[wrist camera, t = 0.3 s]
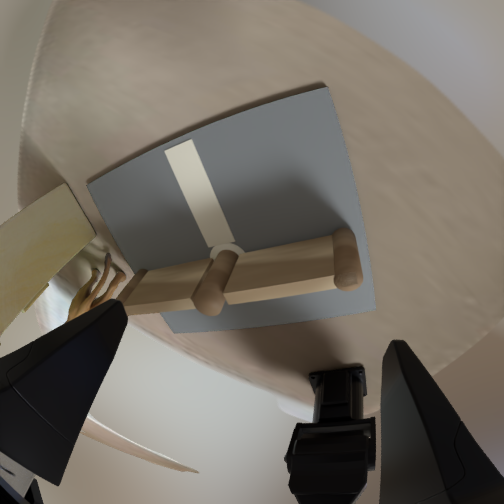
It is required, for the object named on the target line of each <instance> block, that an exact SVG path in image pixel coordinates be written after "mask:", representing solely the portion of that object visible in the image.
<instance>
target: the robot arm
mask: <svg viewBox="0 0 504 504" xmlns="http://www.w3.org/2000/svg"><path fill="white" fill-rule="evenodd" d="M127 322H128V317H127V314H126V311H125V308H124V306H123V303H122V302H121V301H120V300H117V299H109V300H107V301H105V302H103V303H102V304H100V305H98V306H96V307H94V308H92V309H90V310H89V311H87V312H85V313H83V314H81V315H79V316H77V317H76V318H74V319H72V320H70V321H68V322H67V323H65V324H63V325H61V326H59V327H57V328H56V329H54V330H52V331H50V332H48V333H47V334H45V335H43V336H41V337H40V338H38V339H36V340H35V341H32V342H31V343H29V344H27V345H25V346H24V347H22V348H20V349H18V350H16V351H14V352H12V353H10V354H8V355H6V356H4V357H2V358H0V504H43V500H42V497H41V494H40V490H39V486H38V482H37V480H36V479H35V478H34V477H35V475H38V476H39V477H42V478H43V479H45V480H47V481H48V482H50V483H52V484H54V485H56V486H59V485H60V483H61V480H62V477H63V474H64V472H65V469H66V466H67V464H68V461H69V458H70V456H71V453H72V451H73V448H74V445H75V443H76V440H77V438H78V436H79V433H80V431H81V428H82V426H83V424H84V421H85V419H86V417H87V414H88V412H89V410H90V408H91V405H92V403H93V401H94V399H95V397H96V394H97V392H98V390H99V388H100V386H101V384H102V381H103V379H104V377H105V375H106V373H107V371H108V369H109V367H110V365H111V363H112V361H113V359H114V356H115V354H116V351H117V349H118V346H119V343H120V341H121V338H122V336H123V333H124V331H125V328H126V326H127ZM309 380H310V383H311V385H312V388H313V391H314V393H315V404H314V414H313V423H297V424H296V427H295V429H294V431H293V434H292V438H291V441H290V444H289V448H288V451H287V453H286V455H285V457H284V461H285V462H286V463H287V469H288V472H289V474H290V480H289V484H288V486H289V488H290V491H291V493H292V494H294V495H295V497H296V499H297V501H298V503H299V504H355V502H356V501H357V500H358V499H359V497H360V496H361V494H362V493H363V492H364V490H365V489H366V486H367V473H368V471H374V470H375V460H376V424H375V417H371V418H367V419H363V397H364V396H366V395H367V387H366V377H365V368H364V367H356V368H349V369H341V370H333V371H324V372H314V373H310V374H309ZM369 437H370V438H369ZM379 504H504V477H503V476H502V475H501V474H500V472H499V471H498V470H497V468H496V467H495V466H494V464H493V463H492V462H491V461H490V459H489V458H488V457H487V456H486V454H485V453H484V452H483V450H482V449H481V448H480V446H479V445H478V444H477V442H476V441H475V439H474V438H473V436H472V435H471V433H470V432H469V431H468V429H467V428H466V426H465V424H464V423H463V421H461V419H460V417H459V416H458V414H457V412H456V411H455V410H454V408H453V407H452V405H451V404H450V402H449V401H448V399H447V398H446V396H445V395H444V393H443V392H442V391H441V389H440V388H439V386H438V385H437V384H436V382H435V381H434V379H433V378H432V377H431V375H430V374H429V372H428V371H427V370H426V368H425V367H424V366H423V364H422V363H421V361H420V360H419V359H418V357H417V356H416V355H415V353H414V352H413V351H412V349H411V348H410V347H409V346H408V344H407V343H406V342H405V341H404V340H392V341H391V342H390V344H389V346H388V348H387V350H386V353H385V355H384V357H383V362H382V386H381V483H380V499H379Z"/></svg>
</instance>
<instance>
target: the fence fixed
mask: <svg viewBox="0 0 504 504" xmlns="http://www.w3.org/2000/svg"><path fill="white" fill-rule="evenodd" d="M238 257H239V256H238V255H237V254H236V253H235V252H234V251H231V250H222V251H220V252H219V253H218V255H217V257H216V258H215V260H213V258H207V259H202V260H198V261H193V262H188V263H183V264H179V265H174V266H169V267H165V268H160V269H155V270H151V271H148V270H146V269H139V270H138V272H137V273H136V274H135V275H134V276H133V278H132V279H131V280H130V281H129V283H128V284H127V285H126V286H125V288H124V289H123V290H122V292H121V293H120V294H119V295H118V297H117V298H116V299H117V300H120V301H121V302H122V303H123V306H124V308H125V311H126V314H127V317H128V316H129V315H138V314H150V313H160V312H170V311H180V310H189V309H197V310H198V311H199V312H200V313H202V314H204V315H207V316H216V315H218V314H219V313H220V312H221V310H222V307H223V305H224V302H225V300H226V299H225V297H224V295H223V292H224V290H225V287H226V285H227V283H228V280H229V278H230V276H231V273H232V271H233V269H234V267H235V264H236V262H237V260H238Z"/></svg>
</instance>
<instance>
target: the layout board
mask: <svg viewBox="0 0 504 504" xmlns="http://www.w3.org/2000/svg"><path fill="white" fill-rule="evenodd" d="M86 186H87V188H88V190H89V192H90V194H91V196H92V198H93V200H94V202H95V204H96V206H97V208H98V210H99V212H100V214H101V216H102V218H103V220H104V221H105V223H106V225H107V227H108V229H109V231H110V233H111V234H112V236H113V238H114V240H115V242H116V243H117V245H118V247H119V249H120V250H121V252H122V254H123V255H124V257H125V259H126V261H127V262H128V264H129V266H130V267H131V269H132V271H133V272H134V274H136V273H137V272H138V270H139V269H146V270H148V271H151V270H155V269H160V268H165V267H169V266H174V265H179V264H183V263H188V262H193V261H198V260H202V259H207V258H213V260H215V258H216V257H217V255H218V253H219V252H220V251H222V250H231V251H234V252H235V253H236V254H237V255H238V256H239V255H240V254H242V253H247V252H252V251H257V250H262V249H266V248H271V247H276V246H281V245H286V244H291V243H295V242H300V241H305V240H310V239H315V238H320V237H324V236H329V235H332V234H333V233H334V231H336V230H337V229H339V228H348V229H350V230H352V231H353V232H354V234H355V237H356V242H357V246H358V251H359V256H360V262H361V267H362V272H363V282H362V284H361V286H360V287H359V288H357V289H355V290H353V291H342V290H340V289H338V288H336V289H330V290H325V291H319V292H313V293H307V294H300V295H294V296H288V297H281V298H274V299H268V300H261V301H254V302H246V303H239V304H231V305H229V304H228V303H227V301H226V300H225V302H224V305H223V307H222V310H221V312H220V313H219V314H218V315H216V316H207V315H204V314H202V313H200V312H199V311H198V310H197V309H189V310H180V311H170V312H160V314H161V316H162V317H163V318H164V320H165V321H166V323H167V324H168V326H169V327H170V329H171V330H172V331H173V333H192V332H207V331H221V330H233V329H244V328H254V327H263V326H272V325H281V324H289V323H297V322H304V321H312V320H319V319H325V318H332V317H338V316H344V315H350V314H356V313H362V312H368V311H373V310H376V305H375V295H374V287H373V279H372V272H371V264H370V258H369V251H368V245H367V239H366V233H365V228H364V222H363V217H362V212H361V207H360V202H359V198H358V193H357V189H356V184H355V180H354V176H353V171H352V167H351V163H350V160H349V156H348V152H347V148H346V144H345V141H344V137H343V134H342V130H341V127H340V124H339V120H338V117H337V114H336V111H335V107H334V104H333V101H332V98H331V95H330V92H329V89H328V87H324V88H320V89H316V90H312V91H309V92H305V93H301V94H297V95H294V96H290V97H287V98H284V99H280V100H277V101H274V102H270V103H267V104H264V105H261V106H258V107H255V108H252V109H249V110H246V111H243V112H241V113H238V114H235V115H232V116H230V117H227V118H224V119H222V120H219V121H216V122H214V123H211V124H209V125H206V126H204V127H201V128H199V129H197V130H194V131H192V132H190V133H187V134H185V135H183V136H180V137H178V138H176V139H174V140H171V141H169V142H167V143H165V144H163V145H161V146H159V147H157V148H154V149H152V150H150V151H148V152H146V153H144V154H142V155H140V156H138V157H136V158H134V159H132V160H131V161H129V162H127V163H125V164H123V165H121V166H119V167H117V168H116V169H114V170H112V171H110V172H108V173H107V174H105V175H103V176H101V177H100V178H98V179H96V180H95V181H93V182H91V183H89V184H88V185H86Z"/></svg>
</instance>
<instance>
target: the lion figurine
mask: <svg viewBox="0 0 504 504" xmlns="http://www.w3.org/2000/svg"><path fill="white" fill-rule="evenodd" d="M111 261H112V259H111V255H110V254H109V253H107V254H106V257H105V269H104V273H103V276H102V278H101V280H100V281H99V283H98V284H97V286H96V287H95V289H94V290H93V291H92V293H91V290H92V286H93V285H94V284H95V282H97V281H98V279H99V278H100V276H101V274H100V272H99V271H98V270H96V269H94V270H93V271H92V277H91V279H90V280H89V281H88V282H87V283H86V284H85V285H84V286H83V287H82V288H81V289H80V290H79V291H78V292H77V294H76V296H75V297H74V299H73V300H72V302H71V305H70V308H69V315H68V319H67V321H66V322H65V323H67V322H68V321H70V320H72V319H74V318H76V317H77V316H79V315H81V314H83V313H85V312H87V311H89V310H90V309H92V308H94V307H96V306H98V305H100V304H102V303H103V302H105V301H107V300H109V299H111V297H112V295H113V292H114V291H115V289H116V288H117V286H118V284H119V282H123V281H125V279H126V275H125V274H124V273H122V272H117V274H116V276H115V277H114V279H113V280H112V281H111V283H110V285H109V287H108V289H107V291H106V292H105V293H104V294H103V295H102V296H100V297H99V298H97V299H96V300H94V299H95V297H96V296H97V294H98V293H99V291H100V290H101V288H102V286H103V285H104V283H105V281H106V279H107V276H108V273H109V268H110V264H111ZM90 293H91V294H90ZM93 300H94V301H93ZM65 323H64V324H65Z"/></svg>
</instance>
